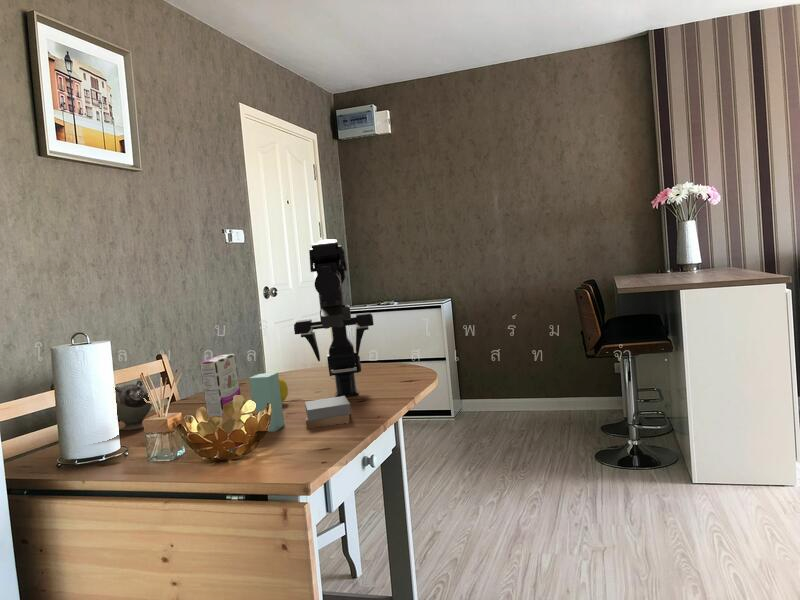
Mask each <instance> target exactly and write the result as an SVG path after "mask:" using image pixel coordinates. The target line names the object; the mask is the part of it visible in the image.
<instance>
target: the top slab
mask: <svg viewBox="0 0 800 600" xmlns="http://www.w3.org/2000/svg"><path fill="white" fill-rule="evenodd" d="M304 405H305V406H304V407H305V413H306V418H307V417H308V420H309V421H310V420H316V419H323V418H329V417H335V416H342V415H348V414H350V415H351V414H352V410H351V403H350V402H349V400H348V398H347V396H340V397H335V396H333V397H328V398H322V399H316V400H315V399H314V400H310V401H309V400H307V401H304Z"/></svg>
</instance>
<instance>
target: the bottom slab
mask: <svg viewBox="0 0 800 600" xmlns="http://www.w3.org/2000/svg"><path fill="white" fill-rule="evenodd" d="M349 415H351V414H348V415H342V416H335V417H329V418H323V419H316V420H310V421H309V420H308V417H307V416H306V418H305V425H306V426H305V427H306V429H314V428H318V427H319V426H322V427H327V425H330V426H336V424H338V425H345V424H344V423H346V424H350V416H349ZM313 427H314V428H313ZM319 428H320V427H319Z"/></svg>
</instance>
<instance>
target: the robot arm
mask: <svg viewBox="0 0 800 600" xmlns="http://www.w3.org/2000/svg"><path fill="white" fill-rule="evenodd" d="M308 251H309V253H308V254H309V268H310V270H309V271H310V273H315V272H316V274H317V276H316V277H315V279H314V288H315V291H316V292H317V293H318V301H319V308H320V309H319V317H320V320H318V321H312V319H302V320H296V322H294V324H293V329H294V335H300V338H305V339H306V340H307V342H308V343H309V345H310V347H311V349H312V350H313V353H314V355H315V357H316V359H317V362H320V361H321V355H320V351H319V347H318V345H319V344H318V343H317V337H316V332H315V331H314V330H319V329H320V330H322V329H324V330H326V329H331V334H332V340H331V341H332V342H331V344H330V346H329V349H328V354H327V355H326V357H327V358H326V359H327V367H328V373H329V377H333V376H334V381H335V382H334V383H335V390H336V391H335V393H334V394H335V395H334V397H340V396H345V397H352V396H358V395H359V388H357V384H356V376H355V374H359V373H361V372H362V364H361V357H360V355H359V353H360V348H361V342H362V338H363V336H364V333H365V331H368V330H369V329H370V328H369V327H371V326H374V315H373V313H371V312H363V313H356V314H355V317H354V316H353V317H352V316H351V314H352V313H351V308H350V307H351V306H350V305H351V304H345V302H344V294H343V293H344V292H343V284H344V282H345V278H346V272H348V266H347V256H346V251H345V249H344V248H343V246H342V245H341V244H340V245H339V242H338V240H337V239H334V238H330V239H321V240H319V241H318V242H317V243H312V244H311V248H309V249H308ZM354 325H356V327H355V348H354V343H352V341H351V340H350V339H349V337H348V334H347V333H348V332H347V326H354Z"/></svg>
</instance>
